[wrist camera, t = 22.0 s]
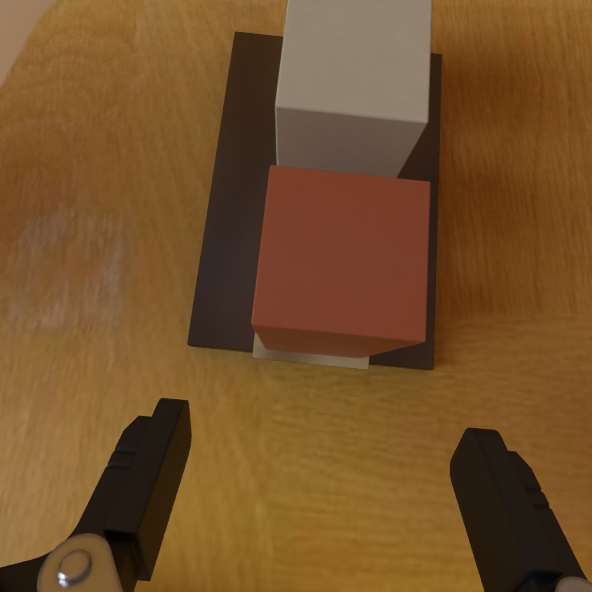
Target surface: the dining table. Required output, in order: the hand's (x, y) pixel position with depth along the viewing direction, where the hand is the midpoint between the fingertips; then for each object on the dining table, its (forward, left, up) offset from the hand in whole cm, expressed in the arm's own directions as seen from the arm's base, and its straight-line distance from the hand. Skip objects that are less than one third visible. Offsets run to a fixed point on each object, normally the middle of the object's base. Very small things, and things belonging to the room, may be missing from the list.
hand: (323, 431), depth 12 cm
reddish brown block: (0, +5, -7) cm, 9 cm away
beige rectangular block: (0, +11, -7) cm, 14 cm away
